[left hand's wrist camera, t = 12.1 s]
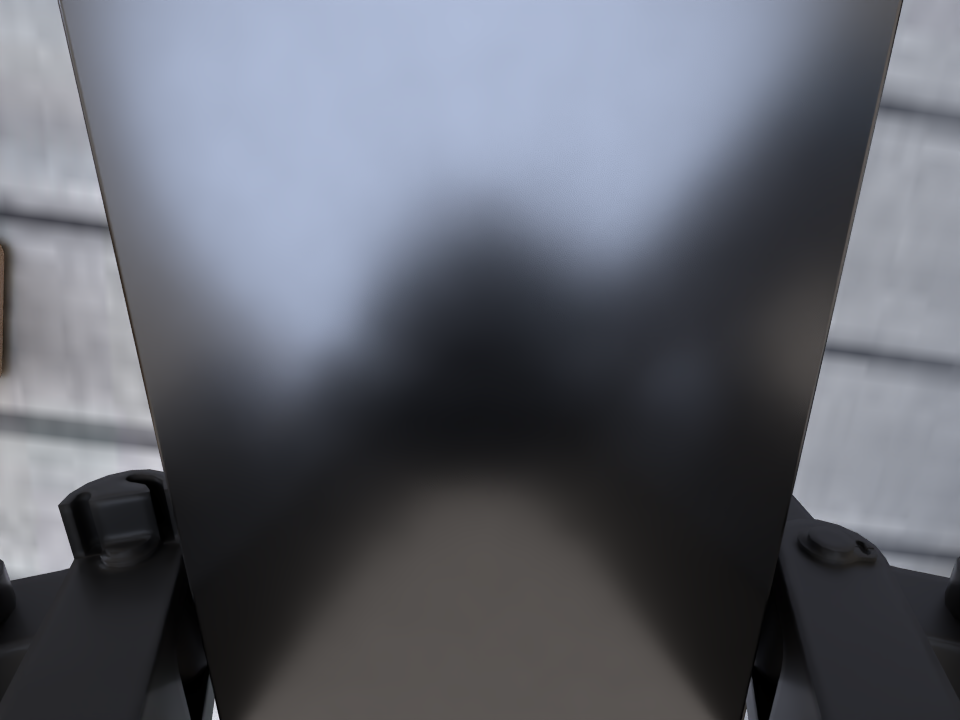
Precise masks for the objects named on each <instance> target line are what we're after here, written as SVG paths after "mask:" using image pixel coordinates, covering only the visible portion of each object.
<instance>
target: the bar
mask: <svg viewBox="0 0 960 720" xmlns="http://www.w3.org/2000/svg"><path fill="white" fill-rule="evenodd" d="M902 3H903V0H58V4H59V9H60V13H61V18H62V22H63V26H64V31H65V35H66V40H67V44H68V49H69V53H70V57H71V62H72V66H73V71H74V75H75V80H76V84H77V89H78V93H79V97H80V102H81V106H82V111H83V115H84V120H85V124H86V129H87V133H88V137H89V142H90V146H91V151H92V155H93V160H94V164H95V169H96V173H97V177H98V182H99V186H100V191H101V195H102V200H103V204H104V208H105V213H106V217H107V222H108V226H109V231H110V235H111V240H112V244H113V248H114V253H115V257H116V262H117V266H118V271H119V275H120V280H121V284H122V288H123V293H124V297H125V302H126V306H127V311H128V315H129V320H130V324H131V328H132V333H133V337H134V342H135V346H136V351H137V355H138V359H139V364H140V368H141V373H142V377H143V382H144V386H145V391H146V395H147V399H148V404H149V408H150V413H151V417H152V422H153V426H154V431H155V435H156V439H157V444H158V448H159V453H160V457H161V462H162V466H163V471H164V475H165V479H166V484H167V488H168V493H169V497H170V502H171V506H172V510H173V515H174V519H175V524H176V528H177V533H178V537H179V542H180V546H181V550H182V555H183V559H184V564H185V568H186V573H187V577H188V582H189V586H190V590H191V595H192V599H193V604H194V608H195V613H196V617H197V622H198V626H199V630H200V635H201V639H202V644H203V648H204V653H205V657H206V661H207V666H208V670H209V675H210V679H211V684H212V688H213V693H214V697H215V701H216V706H217V710H218V715H219V719H220V720H742V716H743V712H744V707H745V703H746V698H747V694H748V689H749V685H750V681H751V676H752V672H753V667H754V663H755V658H756V654H757V649H758V645H759V640H760V636H761V632H762V627H763V623H764V618H765V614H766V609H767V605H768V600H769V596H770V591H771V587H772V583H773V578H774V574H775V569H776V565H777V560H778V556H779V551H780V547H781V542H782V538H783V534H784V529H785V525H786V520H787V516H788V511H789V507H790V502H791V498H792V493H793V489H794V485H795V480H796V476H797V471H798V467H799V462H800V458H801V453H802V449H803V444H804V440H805V436H806V431H807V427H808V422H809V418H810V413H811V409H812V404H813V400H814V395H815V391H816V387H817V382H818V378H819V373H820V369H821V364H822V360H823V355H824V351H825V346H826V342H827V338H828V333H829V329H830V324H831V320H832V315H833V311H834V306H835V302H836V297H837V293H838V288H839V284H840V280H841V275H842V271H843V266H844V262H845V257H846V253H847V248H848V244H849V239H850V235H851V231H852V226H853V222H854V217H855V213H856V208H857V204H858V199H859V195H860V190H861V186H862V182H863V177H864V173H865V168H866V164H867V159H868V155H869V150H870V146H871V141H872V137H873V133H874V128H875V124H876V119H877V115H878V110H879V106H880V101H881V97H882V92H883V88H884V84H885V79H886V75H887V70H888V66H889V61H890V57H891V52H892V48H893V43H894V39H895V35H896V30H897V26H898V21H899V17H900V12H901V8H902Z"/></svg>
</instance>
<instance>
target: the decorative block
mask: <svg viewBox="0 0 960 720" xmlns="http://www.w3.org/2000/svg"><path fill="white" fill-rule="evenodd" d="M3 296H4V251H3V249H2V246H1V245H0V376H1V374H2V348H3Z"/></svg>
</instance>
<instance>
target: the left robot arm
mask: <svg viewBox="0 0 960 720" xmlns="http://www.w3.org/2000/svg"><path fill="white" fill-rule="evenodd" d="M58 507H59V510H60V513H61V517H62V520H63V523H64V526H65V530H66V533H67V536H68V540H69V543H70V546H71V549H72V553H73V556H74V561H73V563H72V565H71V567H70V568H69V569H65V570H61V571H56V572H51V573H47V574H42V575H37V576H32V577H27V578H22V579H17V580H12V581H10V579H9V576H8V573H7V570H6V567H5V565H4V562H3V561H2V560H0V720H212V714H213V706H214V699H215V697H214V693H213V688H212V684H211V679H210V675H209V670H208V666H207V661H206V657H205V653H204V648H203V644H202V639H201V635H200V630H199V626H198V622H197V617H196V613H195V608H194V604H193V599H192V595H191V590H190V586H189V582H188V577H187V573H186V568H185V564H184V559H183V555H182V550H181V546H180V542H179V537H178V533H177V528H176V524H175V519H174V515H173V510H172V506H171V502H170V497H169V493H168V488H167V484H166V479H165V475H164V472H161V471H156V470H151V469H147V470H130V471H125V472H121V473H116V474H112V475H108V476H105V477H103V478H100V479H97V480H95V481H92V482H89V483H87V484H85V485H84V486H82V487H80V488H79V489H77V490H75V491H73V492H72V493H70V494H69V495H68V496H67V497H66V498H65V499H64V500H63V501H62V502H61V503H60V504H59V505H58ZM746 709H747V712H748V720H960V557H959V558H957V560H956V563H955V566H954V568H953V571H952V574H951V577H950V578H947V577H942V576H937V575H932V574H927V573H922V572H917V571H912V570H907V569H902V568H897V567H893V566H890V565H889V564H888V562H887V560H886V558H885V557H884V556H883V554H882V553H881V552H880V551H879V550H878V548H877V547H876V546H875V545H874V544H872V543H871V542H869V541H868V540H867V539H865V538H864V537H862V536H861V535H859V534H858V533H855V532H853V531H851V530H849V529H846V528H844V527H842V526H840V525H837V524H833V523H829V522H825V521H821V520H816V519H814V518H813V517H812V516H811V515H810V514H809V513H808V512H807V511H806V509H805V508H804V507H803V506H802V505H801V504H800V503H799V502H798V500H797V499H796V498H795V497H794V496H793V495H792V498H791V502H790V507H789V511H788V516H787V520H786V525H785V529H784V534H783V538H782V542H781V547H780V551H779V556H778V560H777V565H776V569H775V574H774V578H773V583H772V587H771V591H770V596H769V600H768V605H767V609H766V614H765V618H764V623H763V627H762V632H761V636H760V640H759V645H758V649H757V654H756V658H755V663H754V667H753V672H752V676H751V681H750V685H749V689H748V694H747V698H746V703H745V707H744V712H743V716H742V720H744V717H745V713H746Z"/></svg>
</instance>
